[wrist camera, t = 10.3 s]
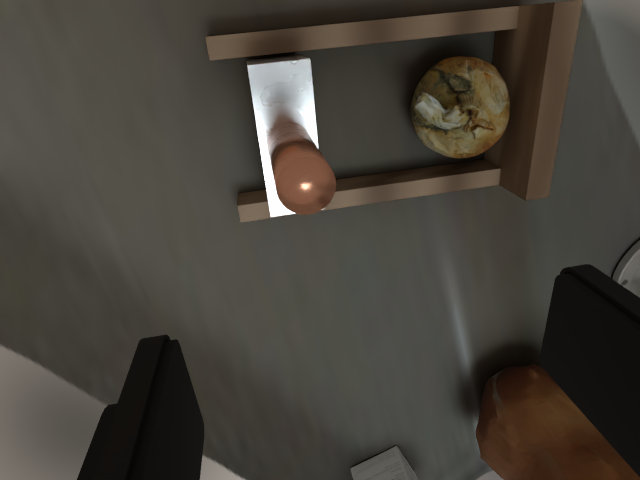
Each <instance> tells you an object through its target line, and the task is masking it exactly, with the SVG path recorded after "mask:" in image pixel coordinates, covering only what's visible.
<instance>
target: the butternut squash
mask: <svg viewBox="0 0 640 480" xmlns="http://www.w3.org/2000/svg"><path fill="white" fill-rule="evenodd" d="M476 438H477V441H478V445H479V449H480V453H481V456H480V458H481V459H483V460H484V461H485V462H486V463H487V464H488V465H489V466H490V467H491V468H492V469H493V470H494V471H495V472H496V473H497V474H498V475H499V476H500V477H501V478H503V479H504V480H640V477H639V476H638V475H637V474H636V473H635V472H634V471H633V469H632V468H631V467H630V466H629V465H628V464H627V463H626V462H625V460H624V459H623V458H622V457H621V456H620V455H619V454H618V453H617V451H616V450H615V449H614V448H613V447H612V446H611V445H610V443H609V442H608V441H607V440H606V439H605V438H604V437H603V436H602V434H601V433H600V432H599V431H598V430H597V429H596V428H595V427H594V425H593V424H592V423H591V422H590V421H589V420H588V419H587V418H586V416H585V415H584V414H583V413H582V412H581V411H580V410H579V409H578V407H577V406H576V405H575V404H574V403H573V402H572V401H571V399H570V398H569V397H568V396H567V395H566V394H565V393H564V392H563V390H562V389H561V388H560V387H559V386H558V385H557V384H556V383H555V381H554V380H553V379H552V378H551V377H550V376H549V375H548V374H547V372H546V371H545V370H544V369H543V368H540V367H538V366H536V365H534V364H530V365H527V366H523V367H507V368H505V369H503V370H502V371H500V372H498V373H497V374H495V375H493V376H492V377H490V378H489V379H488V381H487V383H486V385H485V389H484V392H483V395H482V402H481V408H480V414H479V421H478V425H477V428H476Z"/></svg>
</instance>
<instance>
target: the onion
mask: <svg viewBox="0 0 640 480" xmlns="http://www.w3.org/2000/svg"><path fill="white" fill-rule="evenodd" d="M509 106H510V100H509V92H508V88H507V85H506V83H505V81H504V79H503V78H502V77H501V75H500V73H499V72H498V71H497V69H496V68H495V67H494V66H493V65H492V64H490V63H488V62H486V61H484V60H481V59H478V58H476V57H463V56H458V57H450V58H446V59H444V60H442V61H440V62H439V63H437V64H435V65H434V66H432V67H431V68H430V69H429V70H428V71H427V73H426V74H425V75H424V76H423V77H422V79H421V80H420V82H419V84H418V85H417V87H416V89H415V92H414V95H413V98H412V104H411V111H410V113H411V119H412V123H413V126H414V128H415V131H416V133H417V135H418V137H419V138H420V140H421V141H422V142H423V144H424V145H425V146H426V147H428V148H430V149H432V150H434V151H436V152H438V153H440V154H442V155H444V156H447V157H451V158H469V157H473V156H477V155H479V154H481V153H483V152H485V151H486V150H488V149H489V148H491V147H492V146H493V145H494V144H495V143H496V142H497V141H498V140H499V139H500V138H501V136H502V135H503V133H504V131H505V129H506V127H507V124H508V120H509V112H510V111H509Z"/></svg>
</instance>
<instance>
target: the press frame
mask: <svg viewBox="0 0 640 480" xmlns="http://www.w3.org/2000/svg"><path fill="white" fill-rule="evenodd" d="M582 2H583V0H575V1H565V2H554V3H544V4H534V5H523V6H513V7H503V8H493V9H482V10H472V11H462V12H452V13H442V14H432V15H422V16H411V17H401V18H391V19H381V20H371V21H361V22H351V23H340V24H330V25H320V26H310V27H300V28H290V29H279V30H269V31H259V32H249V33H239V34H229V35H219V36H208V37H205V38H206V44H207V49H208V54H209V59H210V61H211V60H221V59H230V58H240V57H249V56H259V55H269V54H278V53H288V52H297V51H307V50H316V49H326V48H335V47H345V46H355V45H364V44H374V43H383V42H393V41H402V40H412V39H421V38H431V37H441V36H450V35H460V34H469V33H479V32H488V31H495V42H494V52H493V63H492V65H493V66H494V67H495V68H496V69H497V71H498V72H499V73H500V75H501V77H502V78H503V79H504V81H505V83H506V85H507V88H508V92H509V100H510V106H509V111H510V112H509V120H508V124H507V127H506V129H505V131H504V133H503V135H502V136H501V138H500V139H499V140H498V141H497V142H496V143H495V144H494V145H493V146H492V147H491V148H489V149H488V150H486V151H485V152H484V159H482V160H475V161H468V162H461V163H454V164H446V165H439V166H432V167H425V168H418V169H410V170H403V171H396V172H389V173H381V174H374V175H367V176H360V177H353V178H345V179H338V180H336V190H335V194H334V196H333V198H332V200H331V201H330V203H329V204H328V205H327V206H326V207H325V208H324V209H323V210H329V209H336V208H343V207H350V206H357V205H364V204H370V203H377V202H384V201H391V200H398V199H405V198H412V197H418V196H425V195H432V194H439V193H446V192H453V191H459V190H466V189H473V188H480V187H487V186H494V185H500V186H502V187H504V188H505V189H507V190H509V191H510V192H512V193H514V194H515V195H517V196H519V197H520V198H522V199H524V200H525V201H527V200H533V199H540V198H547V197H549V192H550V186H551V181H552V175H553V169H554V163H555V157H556V152H557V146H558V140H559V134H560V129H561V123H562V117H563V111H564V106H565V100H566V94H567V88H568V83H569V77H570V71H571V65H572V60H573V54H574V48H575V42H576V36H577V31H578V25H579V19H580V13H581V8H582ZM238 211H239V216H240V221H241V222H247V221H254V220H261V219H268V218H274V217H271V216H270V210H269V203H268V197H267V190H259V191H252V192H244V193H238ZM320 211H322V210H320ZM295 214H297V213H295ZM295 214H288V215H295ZM288 215H282V216H288ZM275 217H281V216H275Z"/></svg>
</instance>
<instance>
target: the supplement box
mask: <svg viewBox="0 0 640 480" xmlns="http://www.w3.org/2000/svg"><path fill="white" fill-rule="evenodd" d="M351 473H352V477H353V480H418V478H417V476H416V474H415V472H414V471H413V469H412V468H411V466H410V465H409V463H408V462H407V460H406V459H405V457H404V456H403V454H402V453H401V451H400V450H399V448H398V446H395V447H393V448H391V449H389V450H387V451H385V452H383V453H381V454H379V455H377V456H375V457H373V458H371V459H369V460H367V461H364V462H362V463H360V464H358V465H356V466H354V467H352V468H351Z"/></svg>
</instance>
